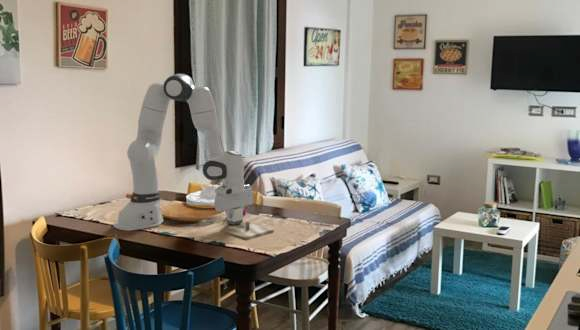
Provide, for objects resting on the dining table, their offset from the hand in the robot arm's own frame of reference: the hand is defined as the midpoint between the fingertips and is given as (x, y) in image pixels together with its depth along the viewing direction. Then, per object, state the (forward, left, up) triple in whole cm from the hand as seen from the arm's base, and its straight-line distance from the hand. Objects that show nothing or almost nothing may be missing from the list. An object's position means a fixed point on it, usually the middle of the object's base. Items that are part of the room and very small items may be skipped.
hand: (234, 217), depth 284 cm
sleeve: (0, 0, -3) cm, 3 cm away
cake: (+19, +39, -4) cm, 44 cm away
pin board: (-4, -13, -3) cm, 14 cm away
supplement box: (+11, +11, -3) cm, 16 cm away
